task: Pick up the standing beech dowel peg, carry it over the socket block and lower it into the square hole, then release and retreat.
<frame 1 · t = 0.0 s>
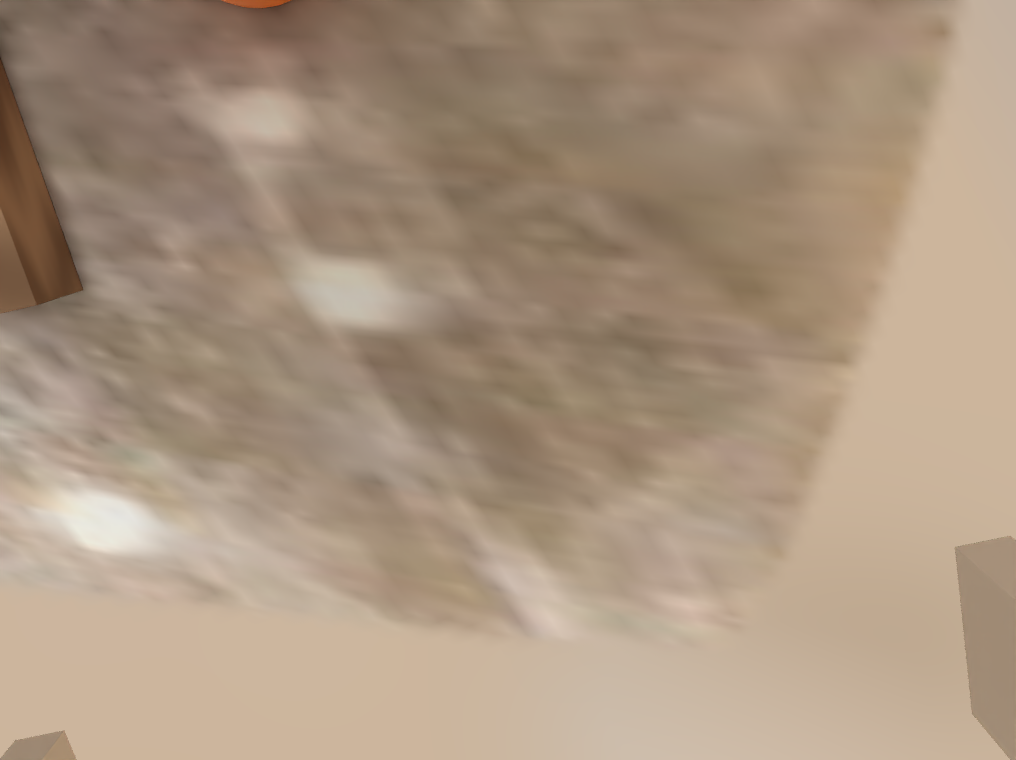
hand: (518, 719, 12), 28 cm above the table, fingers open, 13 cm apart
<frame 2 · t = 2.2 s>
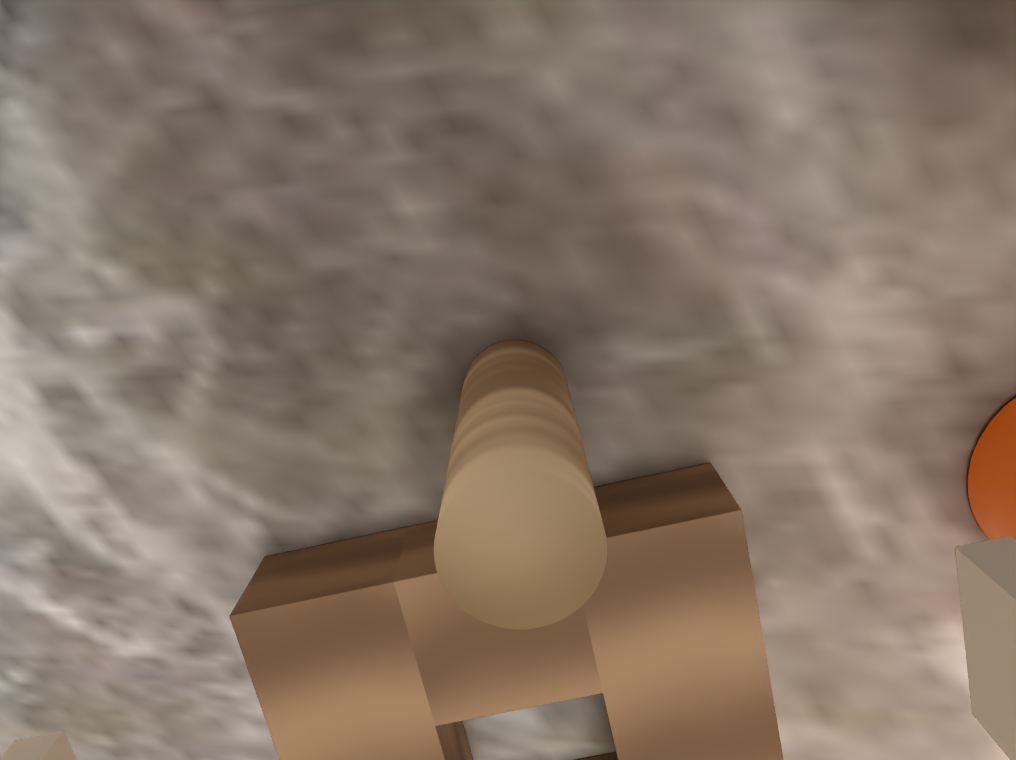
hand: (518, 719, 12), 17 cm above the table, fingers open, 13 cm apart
peg: (515, 390, 29), on the table
socket block: (533, 704, 32), on the table
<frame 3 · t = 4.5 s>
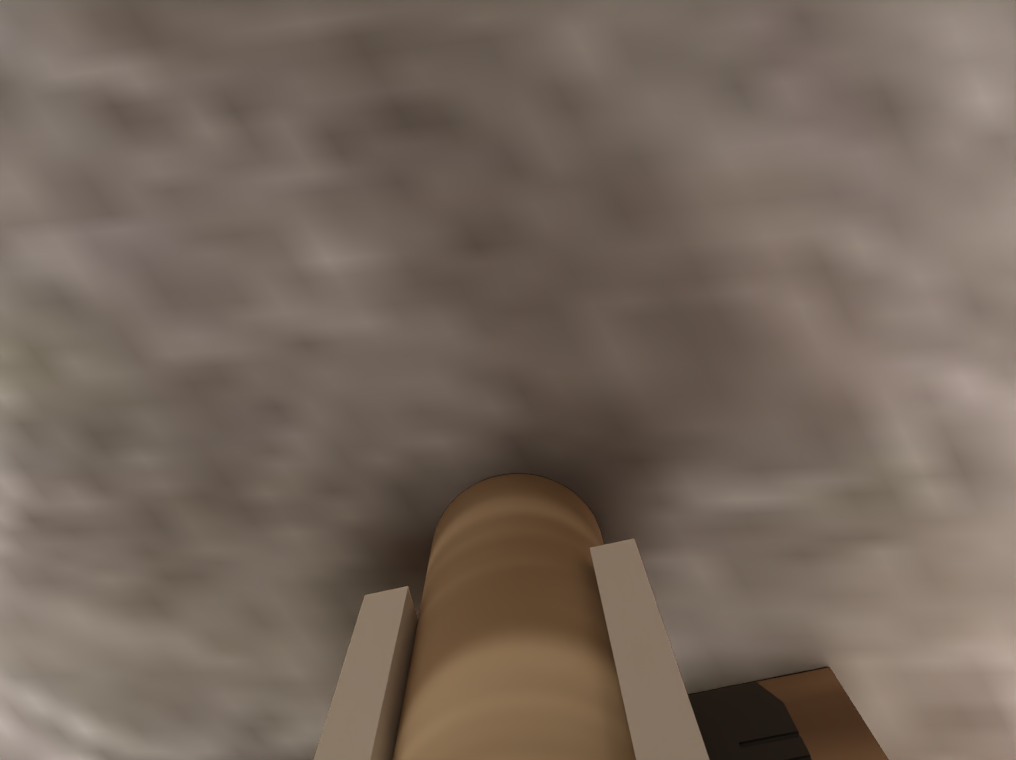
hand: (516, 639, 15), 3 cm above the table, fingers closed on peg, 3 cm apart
peg: (517, 554, 17), on the table, touching gripper
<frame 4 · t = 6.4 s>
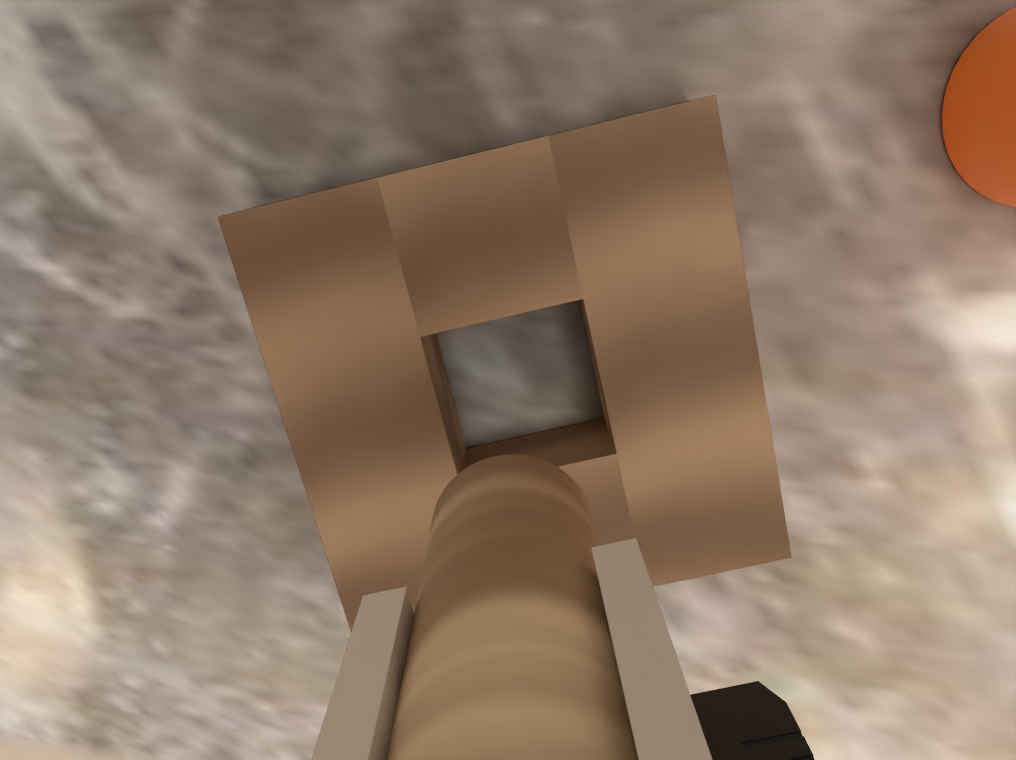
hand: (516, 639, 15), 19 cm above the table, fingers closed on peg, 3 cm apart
peg: (512, 530, 19), point 15 cm above the table, touching gripper
socket block: (518, 366, 33), on the table
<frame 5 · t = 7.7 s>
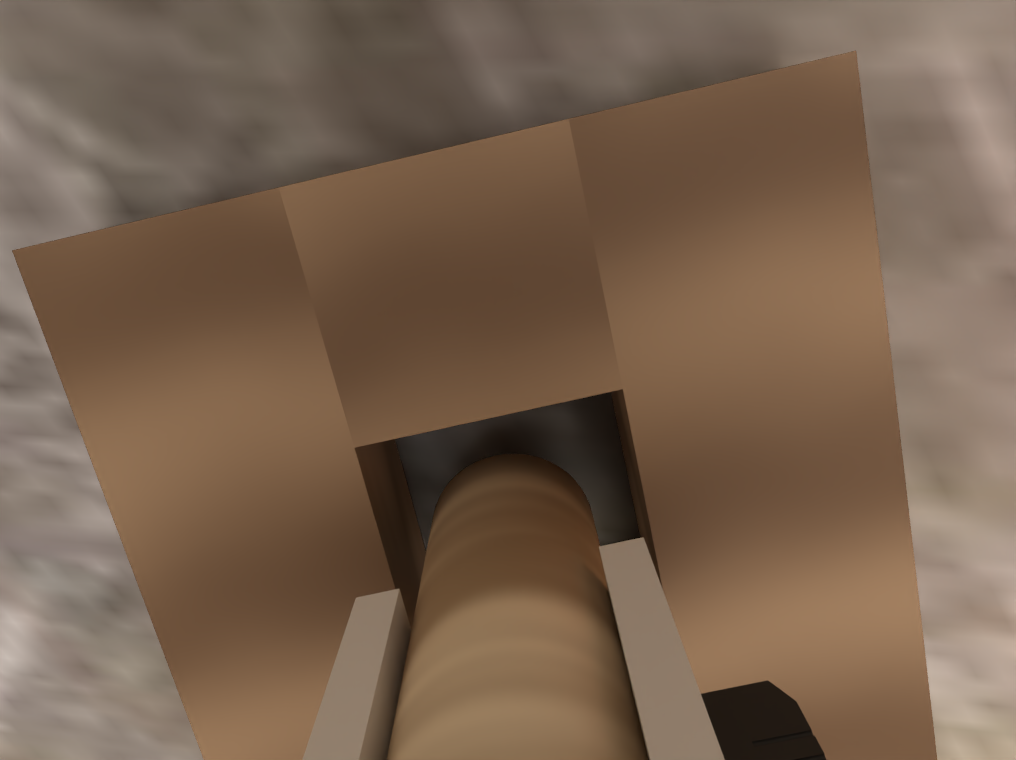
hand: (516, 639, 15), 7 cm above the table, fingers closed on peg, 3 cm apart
peg: (512, 529, 19), point 3 cm above the table, touching gripper
socket block: (515, 471, 22), on the table
when the fingers open (5 cm above the table, at t = 8.6 s): peg drops 1 cm, resting in socket block.
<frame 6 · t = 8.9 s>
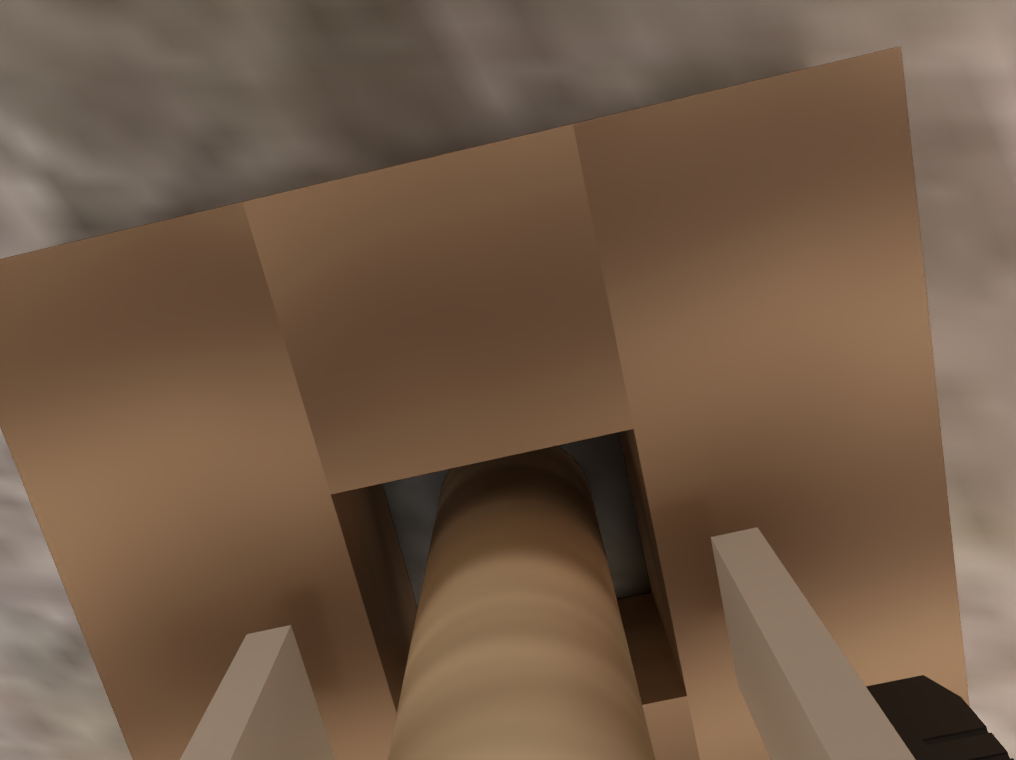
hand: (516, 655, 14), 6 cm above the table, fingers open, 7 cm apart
peg: (515, 507, 20), resting in socket block
socket block: (512, 511, 20), on the table
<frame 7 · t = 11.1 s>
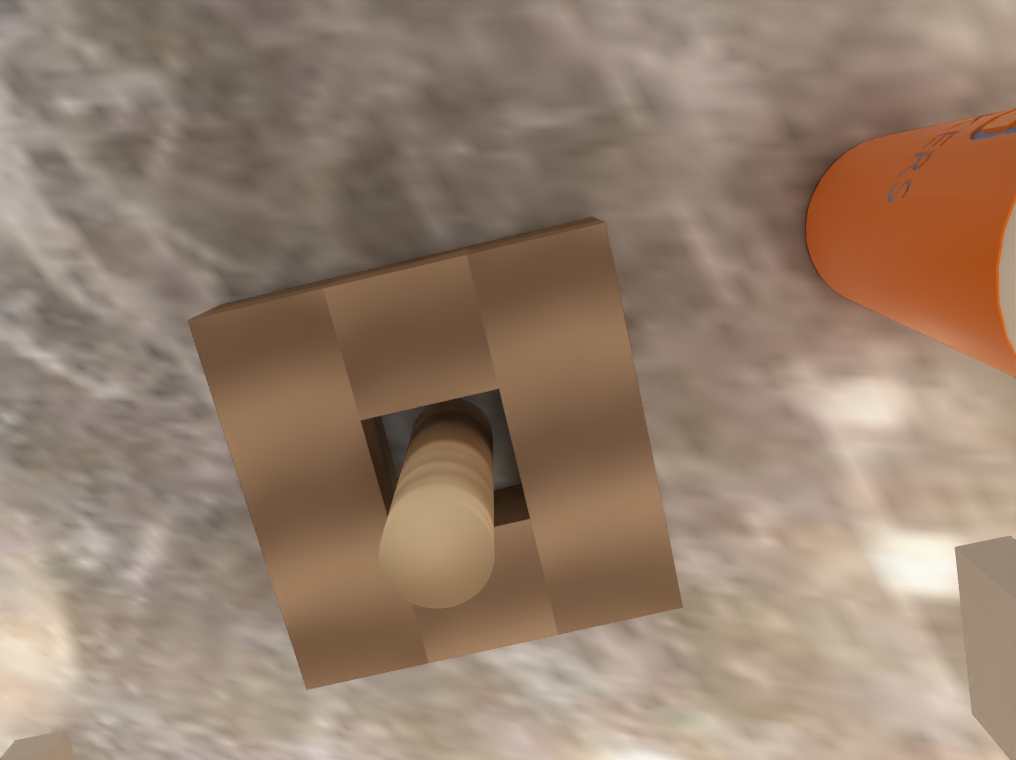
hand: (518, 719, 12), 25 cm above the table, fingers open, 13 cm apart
peg: (452, 437, 38), resting in socket block
shaker bottle: (886, 222, 36), on the table
socket block: (451, 440, 38), on the table
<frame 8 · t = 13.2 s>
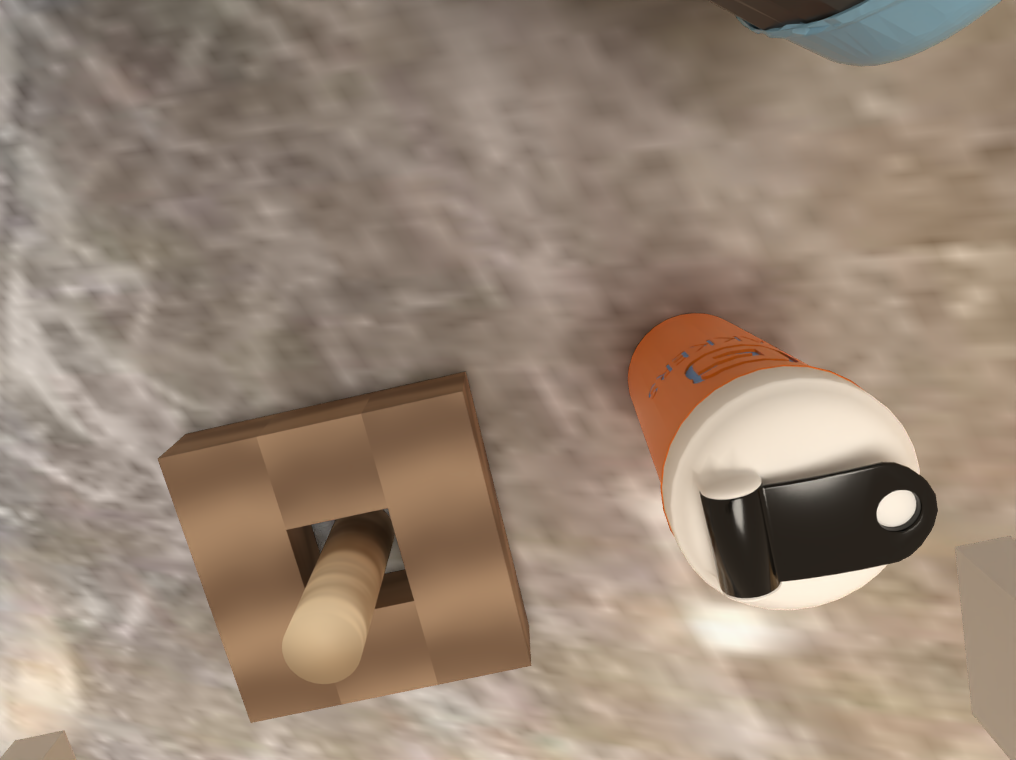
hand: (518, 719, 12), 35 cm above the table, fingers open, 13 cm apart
peg: (364, 531, 49), resting in socket block
shaker bottle: (690, 374, 47), on the table
socket block: (362, 533, 49), on the table
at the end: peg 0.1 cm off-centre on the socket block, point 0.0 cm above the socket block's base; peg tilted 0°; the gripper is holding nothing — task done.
